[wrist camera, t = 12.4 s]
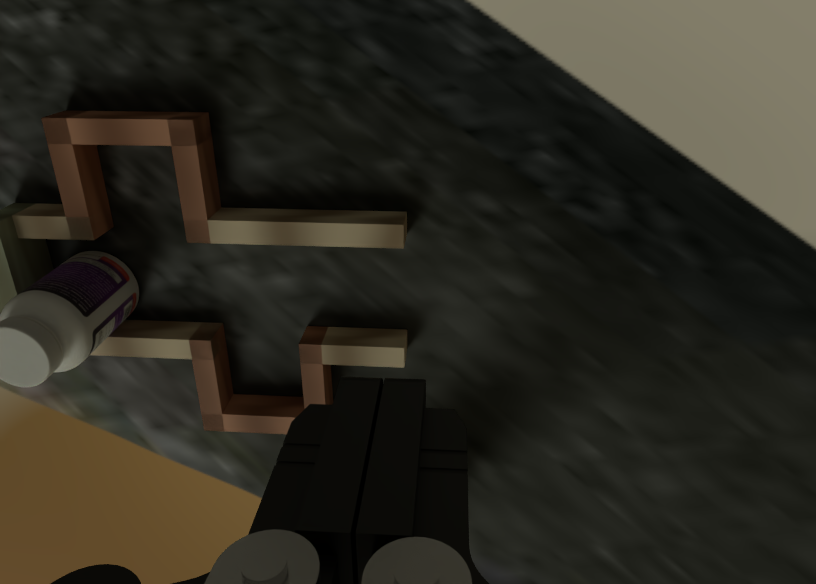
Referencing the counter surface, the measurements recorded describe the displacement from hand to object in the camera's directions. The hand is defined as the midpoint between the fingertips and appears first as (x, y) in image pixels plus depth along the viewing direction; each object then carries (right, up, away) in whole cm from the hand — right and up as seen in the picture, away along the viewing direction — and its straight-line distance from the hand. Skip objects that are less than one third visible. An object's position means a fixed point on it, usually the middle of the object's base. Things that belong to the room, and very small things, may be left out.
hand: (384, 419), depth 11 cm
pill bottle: (-21, +3, +33) cm, 39 cm away
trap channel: (-13, +3, +32) cm, 34 cm away
